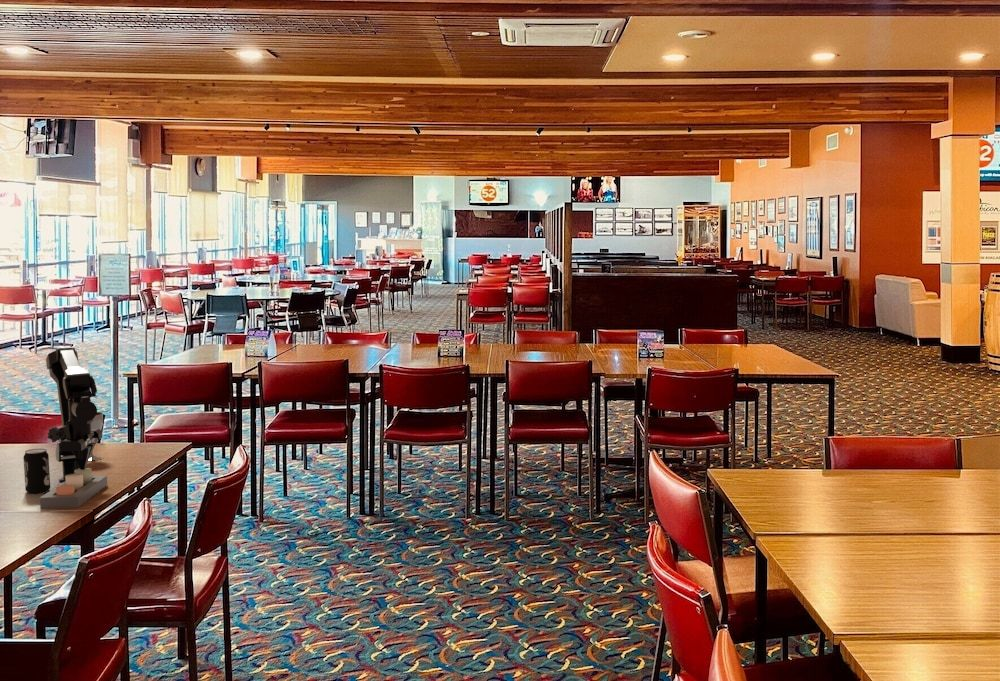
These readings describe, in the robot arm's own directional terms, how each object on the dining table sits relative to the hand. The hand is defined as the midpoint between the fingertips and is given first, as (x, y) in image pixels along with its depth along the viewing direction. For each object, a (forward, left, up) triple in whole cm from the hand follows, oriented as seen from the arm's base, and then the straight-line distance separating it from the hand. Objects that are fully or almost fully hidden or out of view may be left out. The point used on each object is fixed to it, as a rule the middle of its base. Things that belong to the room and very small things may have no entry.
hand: (82, 469), depth 297 cm
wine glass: (-42, -12, -6) cm, 44 cm away
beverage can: (0, -13, -6) cm, 14 cm away
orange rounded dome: (+14, 0, -6) cm, 15 cm away
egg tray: (+7, 0, -6) cm, 9 cm away
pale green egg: (0, 0, -4) cm, 4 cm away
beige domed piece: (+7, 0, -5) cm, 8 cm away
